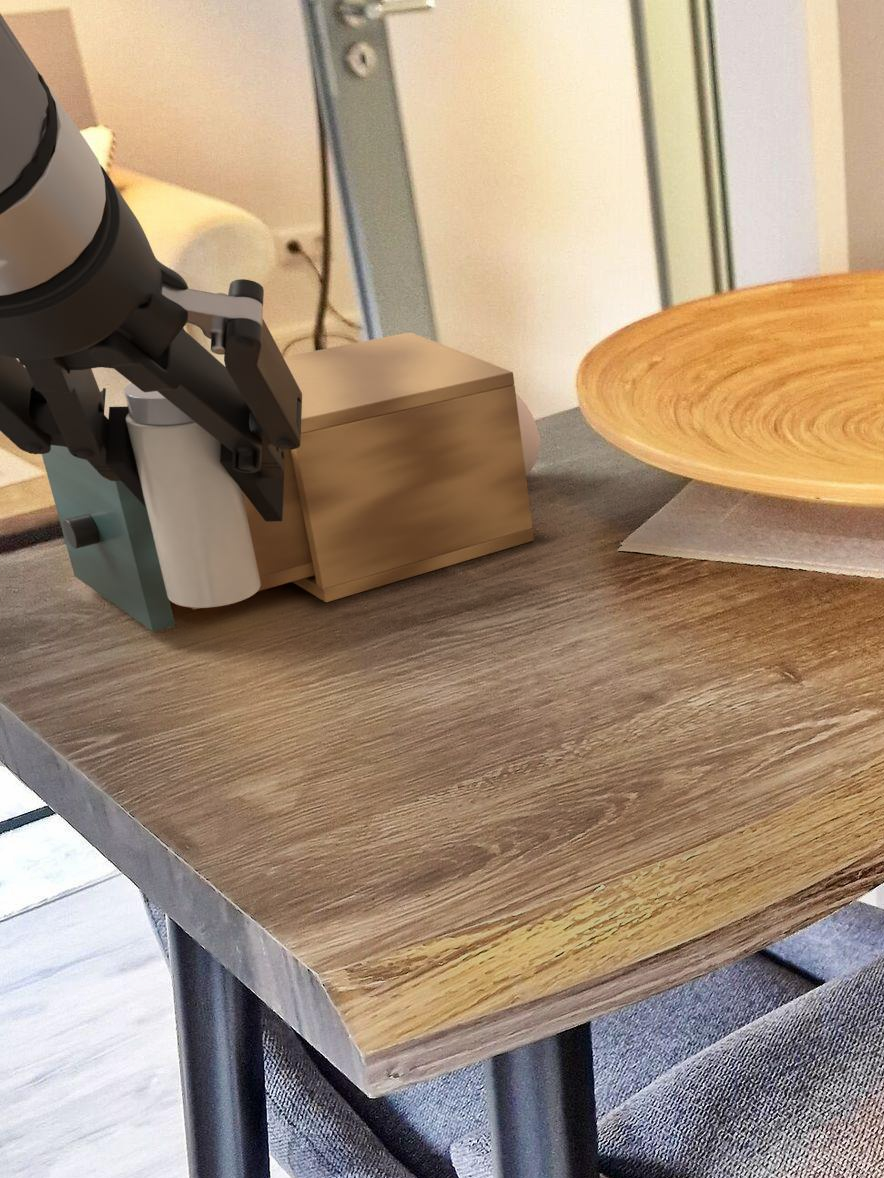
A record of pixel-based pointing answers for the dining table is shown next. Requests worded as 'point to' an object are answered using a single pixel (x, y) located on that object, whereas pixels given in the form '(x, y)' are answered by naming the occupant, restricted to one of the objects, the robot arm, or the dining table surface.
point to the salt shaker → (190, 505)
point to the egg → (528, 435)
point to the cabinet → (405, 461)
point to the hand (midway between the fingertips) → (222, 495)
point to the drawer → (126, 545)
